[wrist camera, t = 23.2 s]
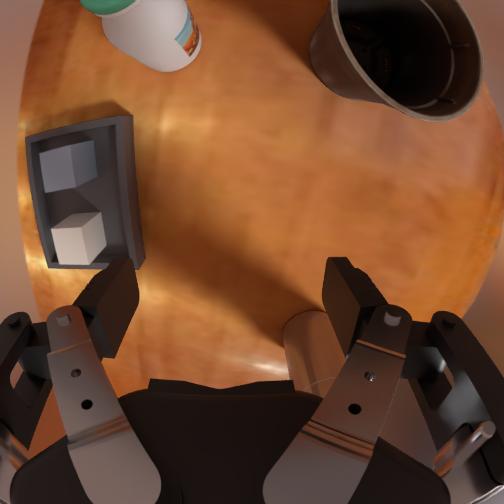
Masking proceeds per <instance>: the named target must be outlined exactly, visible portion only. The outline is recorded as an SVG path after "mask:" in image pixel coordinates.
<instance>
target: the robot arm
mask: <svg viewBox="0 0 504 504" xmlns="http://www.w3.org/2000/svg"><path fill="white" fill-rule="evenodd" d="M322 301H323V305H324V307H325V310H326V312H327V313H325V312H321V311H307V312H303V313H300V314H298V315H296V316H295V317H293V318H292V319H290V320H289V321H288V322H287V324H286V325H285V327H284V329H283V332H282V338H283V344H284V349H285V355H286V361H287V366H288V371H289V377H290V380H282V381H260V382H254V383H249V384H245V385H240V386H235V387H230V388H225V389H215V388H211V387H207V386H202V385H198V384H194V383H190V382H186V381H177V380H162V379H150V382H149V386H148V389H142V390H138V391H134V392H131V393H128V394H126V395H123V396H121V397H120V398H118V397H117V395H116V393H115V391H114V389H113V387H112V385H111V383H110V380H109V378H108V376H107V374H106V372H105V369H104V367H103V365H102V363H101V361H102V359H103V357H105V358H114V359H115V356H116V354H117V351H118V349H119V347H120V344H121V342H122V340H123V337H124V335H125V333H126V331H127V328H128V326H129V324H130V322H131V319H132V317H133V315H134V313H135V311H136V309H137V306H138V304H139V288H138V283H137V278H136V273H135V268H134V263H133V260H132V259H131V258H114V259H113V260H112V261H111V262H110V264H109V265H108V266H107V268H106V269H103V270H102V271H100V272H99V273H97V274H96V275H94V277H93V278H92V279H91V280H90V282H89V284H87V286H86V287H85V289H84V290H83V291H82V292H81V294H80V295H79V296H78V298H77V299H76V300H75V302H74V303H73V304H72V305H67V306H62V307H60V308H57V309H56V310H54V311H53V312H51V314H50V315H49V316H48V318H47V322H40V323H33V324H32V321H31V319H30V317H29V315H28V314H27V313H25V312H17V313H14V314H11V315H10V316H8V317H7V318H6V319H4V321H3V322H2V323H1V324H0V503H1V504H480V503H482V502H483V501H485V500H487V499H488V498H490V497H491V496H493V495H495V494H496V493H498V492H499V491H501V490H502V489H503V488H504V378H503V376H502V374H501V373H500V371H499V370H498V368H497V367H496V365H495V364H494V363H493V361H492V360H491V358H490V357H489V355H488V354H487V353H486V351H485V350H484V348H483V347H482V346H481V344H480V343H479V342H478V340H477V339H476V337H475V336H474V335H473V334H472V332H471V331H470V329H469V328H468V327H467V326H466V324H465V323H464V322H463V321H462V319H461V318H459V317H458V316H457V315H455V314H453V313H451V312H447V311H438V312H436V313H434V314H433V316H432V319H431V321H430V323H428V322H419V321H412V317H411V315H410V314H409V313H408V312H407V311H406V310H405V309H403V308H401V307H399V306H396V305H391V304H388V302H387V301H386V300H385V298H384V297H383V295H382V294H381V293H380V291H379V290H378V288H376V286H375V284H374V283H372V280H371V279H370V278H369V276H368V275H367V274H366V273H365V272H363V271H362V270H360V269H358V268H354V267H353V265H352V264H351V263H350V261H349V260H348V258H347V257H328V259H327V262H326V268H325V275H324V281H323V288H322ZM17 361H18V362H19V364H20V366H21V367H22V369H23V373H22V374H21V376H20V378H19V380H18V382H17V384H16V386H15V388H14V389H13V387H12V386H11V383H10V374H11V372H12V369H13V368H14V366H15V364H16V363H17ZM446 366H448V368H449V369H450V371H451V373H452V375H453V379H454V384H453V387H452V386H451V384H450V383H449V381H448V379H447V377H446V375H445V374H444V372H443V371H444V369H445V367H446ZM399 378H404V379H408V381H409V383H410V385H411V388H412V390H413V392H414V394H415V397H416V399H417V402H418V404H419V406H420V409H421V411H422V413H423V416H424V418H425V420H426V423H427V426H428V428H429V431H430V433H431V436H432V439H433V441H434V444H435V446H436V449H437V454H436V455H435V459H434V470H431V469H430V468H428V467H426V466H424V465H423V464H422V463H420V462H418V461H417V460H415V459H413V458H411V457H410V456H408V455H407V454H405V453H404V452H402V451H401V450H399V449H398V448H396V447H395V446H393V445H391V444H390V443H388V442H387V441H385V440H384V439H382V438H381V437H379V434H380V431H381V429H382V426H383V424H384V421H385V418H386V416H387V413H388V411H389V408H390V405H391V402H392V399H393V397H394V394H395V391H396V388H397V384H398V381H399ZM52 387H53V388H54V392H55V395H56V400H57V403H58V407H59V411H60V414H61V418H62V421H63V424H64V427H65V430H66V433H67V435H65V436H64V437H63V438H61V439H59V440H58V441H57V442H55V443H54V444H52V445H51V446H49V447H48V448H46V449H45V450H43V451H42V452H40V453H39V454H38V455H36V456H34V457H33V458H31V459H30V458H29V453H28V450H29V447H30V444H31V441H32V438H33V435H34V432H35V429H36V427H37V424H38V421H39V418H40V416H41V413H42V411H43V408H44V406H45V403H46V401H47V398H48V396H49V394H50V391H51V389H52Z"/></svg>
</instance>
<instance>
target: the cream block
mask: <svg viewBox="0 0 504 504" xmlns="http://www.w3.org/2000/svg"><path fill="white" fill-rule="evenodd" d="M51 232H52V236H53V241H54V245H55V249H56V253H57V257H58V261H59V264H68V265H89V264H90V263H91V262H92V261H93V260H94V259H95V258H96V257H97V255H98V254H99V253H100V252H101V251H102V250H103V249H104V248H105V247H106V246H107V244H106V239H105V233H104V227H103V221H102V215H101V212H91V213H76V214H71V215H70V216H69V217H67V218H66V219H64V220H63V221H61V222H60V223H59V224H57V225H56V226H54V227H53V228H52V229H51Z"/></svg>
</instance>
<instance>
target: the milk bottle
mask: <svg viewBox="0 0 504 504" xmlns="http://www.w3.org/2000/svg"><path fill="white" fill-rule="evenodd" d="M80 2H81V4H82V5H83V7H84V8H86V9H87V10H89V11H90V12H92V13H94V14H95V15H97V16H99V17H102V25H103V30H104V33H105V35H106V36H107V38H108V40H109V41H110V42H111V43H112V44H113V45H114V46H115V47H116V48H118V49H119V50H121V51H122V52H124V53H125V54H127V55H129V56H130V57H132V58H134V59H136V60H137V61H139V62H141V63H143V64H145V65H146V66H148V67H150V68H152V69H154V70H157V71H161V72H171V71H176V70H179V69H181V68H183V67H185V66H187V65H188V64H189V63H191V62H192V61H193V60H194V59H195V57H196V56H197V54H198V53H199V51H200V48H201V42H202V39H201V34H200V31H199V29H198V26H197V24H196V22H195V20H194V18H193V15H192V13H191V11H190V9H189V7H188V5H187V3H186V2H185V0H80Z"/></svg>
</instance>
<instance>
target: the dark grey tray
mask: <svg viewBox="0 0 504 504" xmlns="http://www.w3.org/2000/svg"><path fill="white" fill-rule="evenodd" d="M91 140H94V150H95V159H96V167H97V175H98V177H96V178H94V179H92V180H89V181H87V182H85V183H83V184H81V185H79V186H77V187H74V188H68V189H63V190H58V191H53V192H48V193H45V189H44V183H43V177H42V170H41V163H40V155H39V153H43V152H46V151H50V150H53V149H57V148H61V147H64V146H68V145H72V144H77V143H82V142H86V141H91ZM25 141H26V154H27V165H28V173H29V181H30V188H31V194H32V200H33V206H34V211H35V217H36V221H37V226H38V231H39V235H40V239H41V243H42V247H43V251H44V255H45V258H46V262H47V265H48V268H57V269H106V268H107V266H108V265H109V264H110V262H111V261H112V260H113V259H114V258H131V259H132V260H133V263H134V268H135V270H139V268H140V267H141V265H142V263H143V262H144V260H145V259H146V256H145V250H144V243H143V236H142V228H141V220H140V212H139V203H138V193H137V182H136V169H135V154H134V132H133V115H121V116H114V117H108V118H103V119H97V120H92V121H87V122H82V123H78V124H73V125H69V126H64V127H60V128H56V129H52V130H49V131H45V132H41V133H38V134H34V135H31V136H28V137H25ZM91 212H101V215H102V221H103V227H104V233H105V239H106V244H107V246H106V247H105V248H104V249H103V250H102V251H101V252H100V253H99V254H98V255H97V257H96V258H95V259H94V260H93V261H92V262H91V263H90V264H89V265H68V264H59V261H58V257H57V253H56V249H55V245H54V241H53V236H52V232H51V229H52V228H53V227H54V226H56V225H57V224H59V223H60V222H61V221H63V220H64V219H66V218H67V217H69V216H70V215H71V214H76V213H91Z"/></svg>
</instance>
